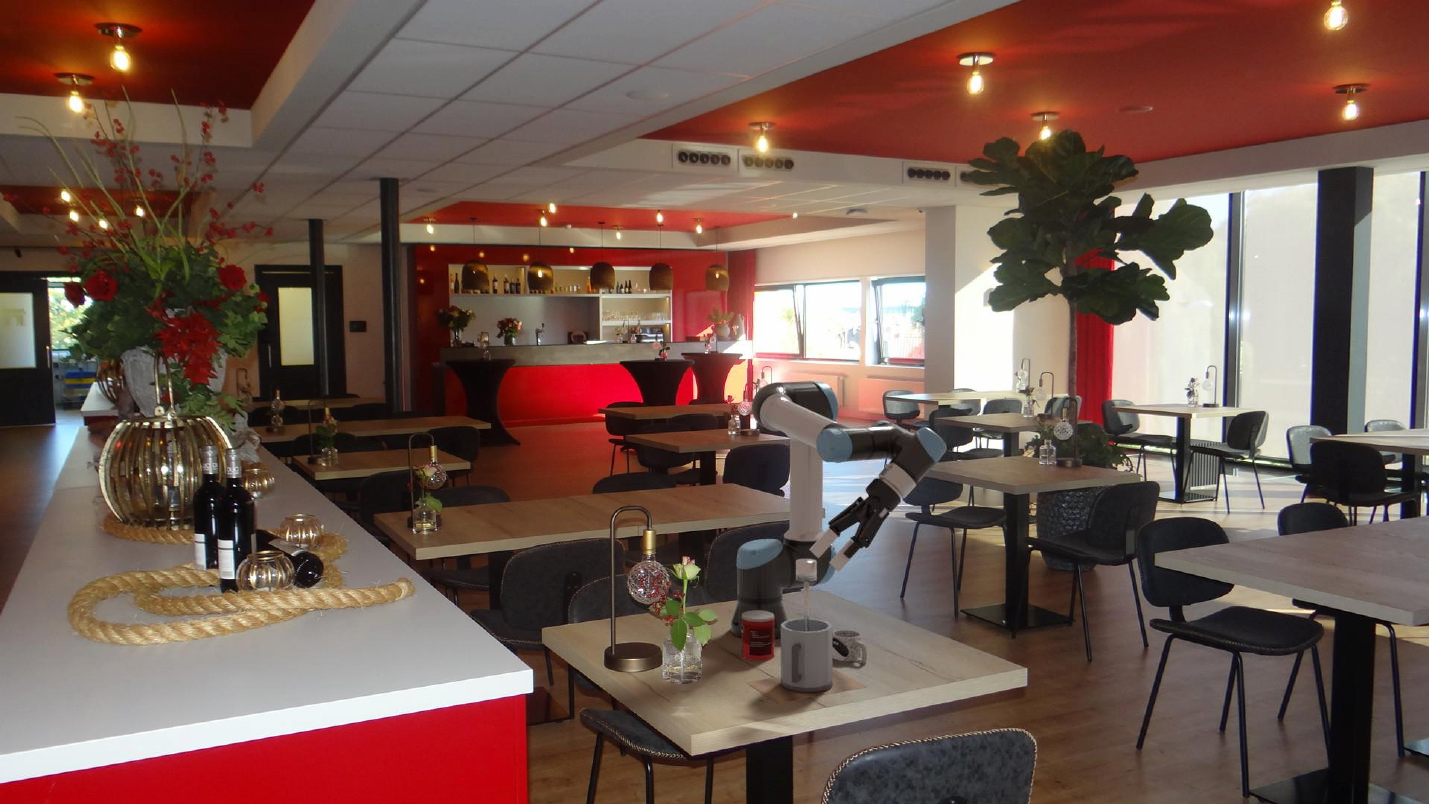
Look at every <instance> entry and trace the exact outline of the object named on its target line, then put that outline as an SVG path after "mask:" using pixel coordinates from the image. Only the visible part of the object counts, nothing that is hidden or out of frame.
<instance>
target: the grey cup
mask: <svg viewBox="0 0 1429 804" xmlns="http://www.w3.org/2000/svg"><path fill="white" fill-rule="evenodd" d="M832 633H833V625H832V623H830V622H829V621H825V620H822V619H817V618H810V617H809V632H804V617H803V618H793V619H788V620H787V621H785V622H783V623H782V624H781V637H780V677H781V687H782V688H784V689H785V690H788V691H791V692H795V693H802V694H814V693H821V692H825V691H828V690H830V689H831V688H832V686H833V679H832V668H833V657H832Z"/></svg>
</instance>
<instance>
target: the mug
mask: <svg viewBox="0 0 1429 804" xmlns="http://www.w3.org/2000/svg"><path fill="white" fill-rule="evenodd" d="M867 650H868V649H867V646H866V645H865V643H864V642H862V634H861V632H859V631H857V630H851V629H841V630H840V629H839V630H835V631H832V659H834V660H837V661H840V662H855V663H859V664H864V665H865V664H866V663H867V659H868V651H867Z"/></svg>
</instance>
